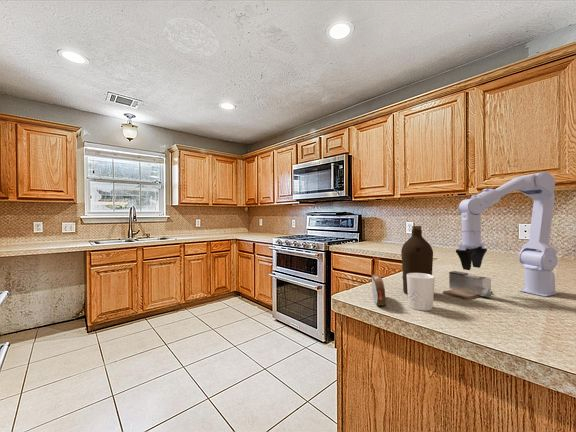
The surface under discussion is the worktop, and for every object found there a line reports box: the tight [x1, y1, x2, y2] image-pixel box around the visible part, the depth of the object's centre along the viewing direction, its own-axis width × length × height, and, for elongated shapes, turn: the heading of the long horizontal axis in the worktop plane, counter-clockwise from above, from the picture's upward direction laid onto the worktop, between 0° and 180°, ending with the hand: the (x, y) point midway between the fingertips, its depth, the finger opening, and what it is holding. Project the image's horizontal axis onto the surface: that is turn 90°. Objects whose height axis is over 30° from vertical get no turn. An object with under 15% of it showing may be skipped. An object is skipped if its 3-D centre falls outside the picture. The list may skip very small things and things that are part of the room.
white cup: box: [407, 273, 435, 312], centre depth 83 cm, size 8×8×10 cm
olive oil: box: [400, 225, 434, 295], centre depth 98 cm, size 11×11×25 cm
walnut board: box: [442, 289, 493, 300], centre depth 97 cm, size 16×8×1 cm, turn 115°
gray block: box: [448, 270, 492, 298], centre depth 96 cm, size 4×13×6 cm, turn 31°
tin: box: [370, 274, 387, 307], centre depth 89 cm, size 15×3×8 cm, turn 168°
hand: (471, 268), depth 97 cm, fingers open, 7 cm apart
